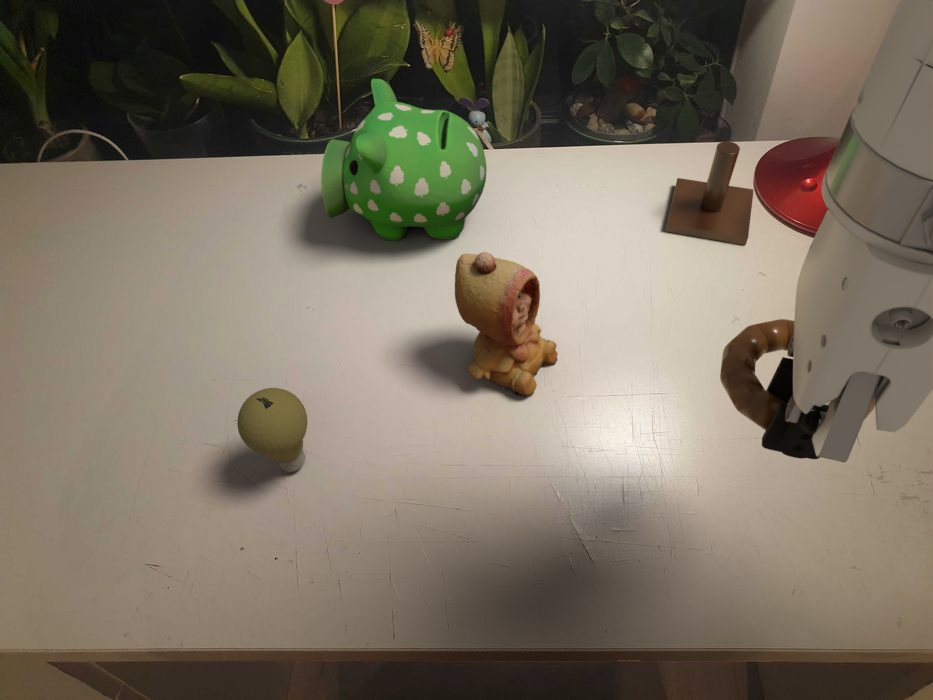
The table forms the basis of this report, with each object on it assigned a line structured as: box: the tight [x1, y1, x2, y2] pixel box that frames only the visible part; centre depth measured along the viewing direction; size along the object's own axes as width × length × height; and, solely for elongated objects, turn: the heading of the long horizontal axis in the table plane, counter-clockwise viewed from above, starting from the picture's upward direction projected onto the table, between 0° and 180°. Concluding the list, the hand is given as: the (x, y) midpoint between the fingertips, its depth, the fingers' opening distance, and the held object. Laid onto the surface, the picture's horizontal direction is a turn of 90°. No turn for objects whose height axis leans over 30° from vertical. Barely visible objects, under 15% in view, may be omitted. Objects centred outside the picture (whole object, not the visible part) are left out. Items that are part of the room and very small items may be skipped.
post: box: [665, 140, 754, 246], centre depth 75 cm, size 9×9×9 cm
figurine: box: [454, 251, 558, 398], centre depth 62 cm, size 10×8×15 cm
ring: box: [719, 318, 875, 431], centre depth 41 cm, size 9×9×2 cm
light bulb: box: [236, 387, 308, 473], centre depth 57 cm, size 6×6×10 cm
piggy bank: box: [320, 78, 487, 242], centre depth 75 cm, size 14×18×15 cm
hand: (790, 425), depth 40 cm, fingers closed on ring, 2 cm apart
